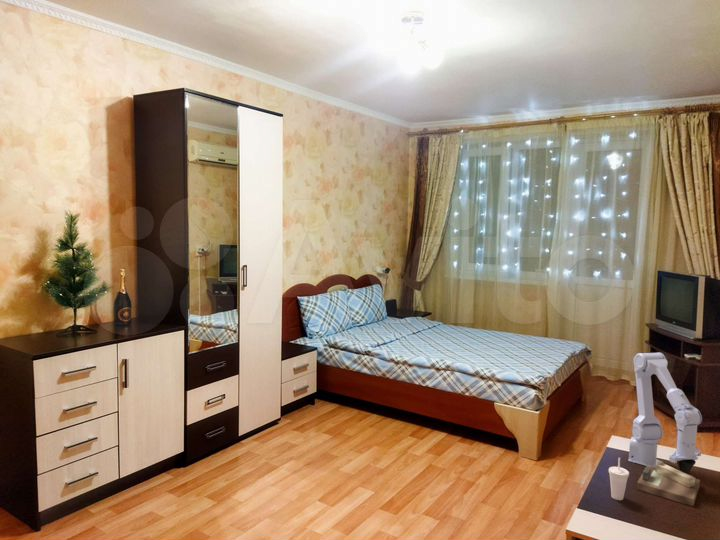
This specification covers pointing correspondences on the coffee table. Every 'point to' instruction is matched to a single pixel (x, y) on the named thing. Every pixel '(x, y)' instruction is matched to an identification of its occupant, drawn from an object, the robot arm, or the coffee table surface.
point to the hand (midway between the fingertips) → (683, 477)
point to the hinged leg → (674, 474)
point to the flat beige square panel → (667, 487)
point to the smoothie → (618, 481)
